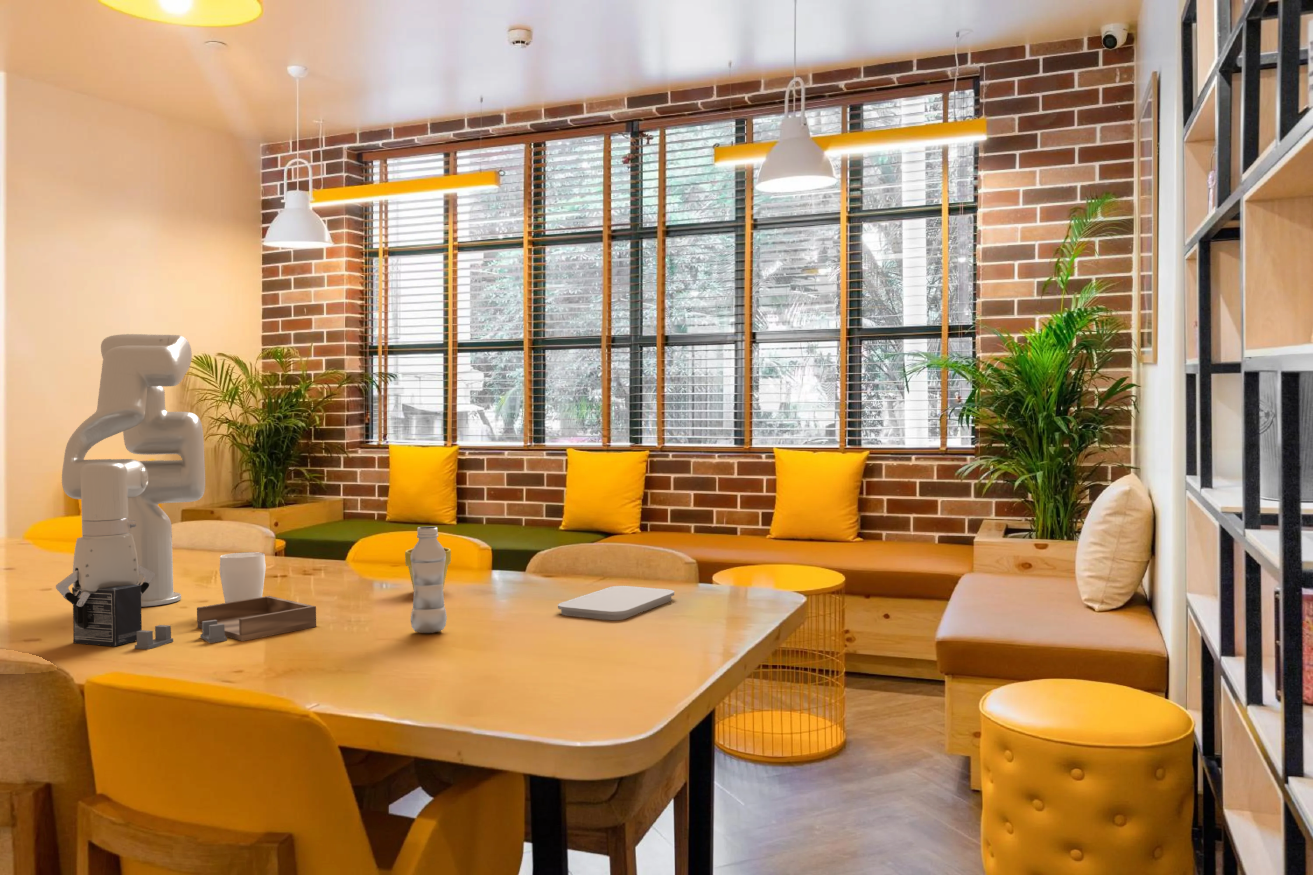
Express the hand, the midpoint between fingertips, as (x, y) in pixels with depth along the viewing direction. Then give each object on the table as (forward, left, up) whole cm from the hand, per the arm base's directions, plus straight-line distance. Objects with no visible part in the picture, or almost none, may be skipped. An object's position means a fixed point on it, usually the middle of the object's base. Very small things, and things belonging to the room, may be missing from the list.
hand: (108, 622), depth 182 cm
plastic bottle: (+42, +41, -4) cm, 59 cm away
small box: (0, 0, -4) cm, 4 cm away
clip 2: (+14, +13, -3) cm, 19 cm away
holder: (+11, +23, -3) cm, 26 cm away
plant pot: (+7, +67, -4) cm, 67 cm away
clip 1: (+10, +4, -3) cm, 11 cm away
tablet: (+54, +81, -4) cm, 97 cm away
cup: (-6, +29, -4) cm, 30 cm away
